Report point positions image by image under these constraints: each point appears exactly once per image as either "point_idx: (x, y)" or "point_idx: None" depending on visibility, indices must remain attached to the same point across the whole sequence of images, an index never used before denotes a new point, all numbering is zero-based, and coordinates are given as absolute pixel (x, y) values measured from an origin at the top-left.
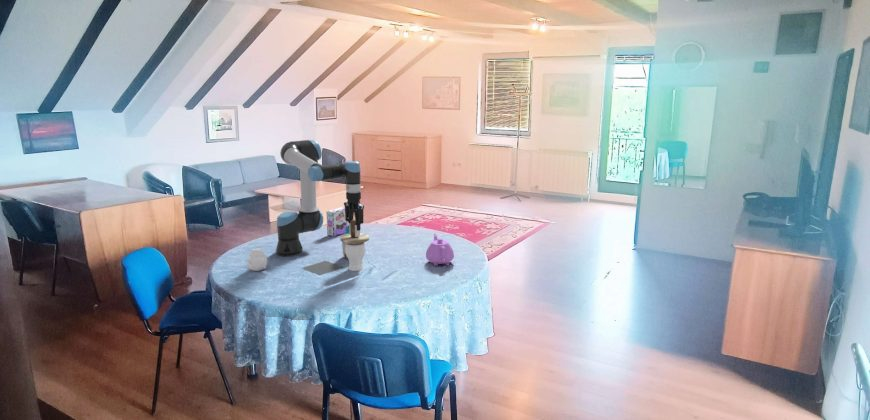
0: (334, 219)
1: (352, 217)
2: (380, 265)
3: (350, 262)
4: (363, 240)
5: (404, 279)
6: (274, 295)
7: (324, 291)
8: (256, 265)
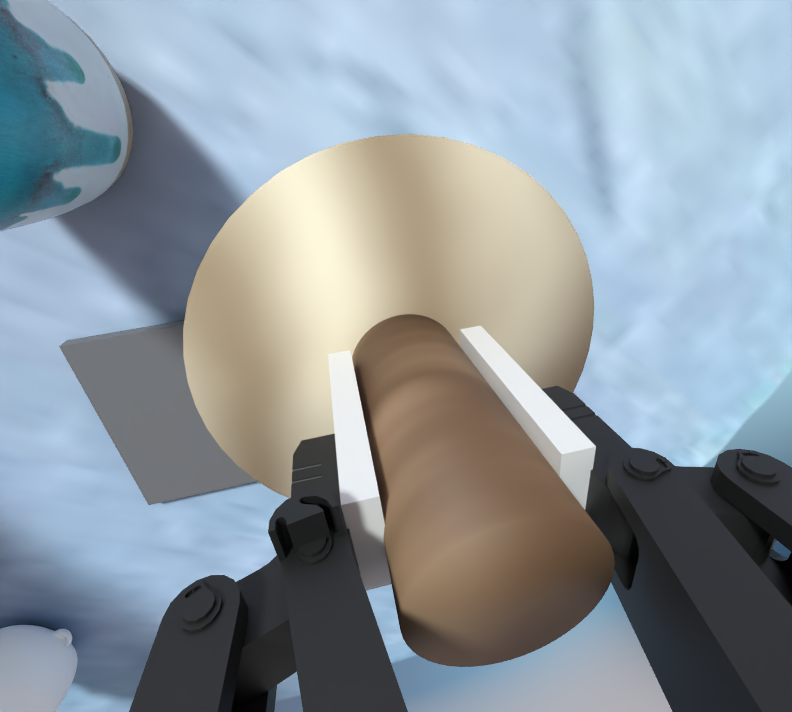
0: None
1: (391, 680)
2: (390, 19)
3: None
4: (585, 339)
5: (719, 96)
6: (398, 622)
7: None
8: (69, 687)
